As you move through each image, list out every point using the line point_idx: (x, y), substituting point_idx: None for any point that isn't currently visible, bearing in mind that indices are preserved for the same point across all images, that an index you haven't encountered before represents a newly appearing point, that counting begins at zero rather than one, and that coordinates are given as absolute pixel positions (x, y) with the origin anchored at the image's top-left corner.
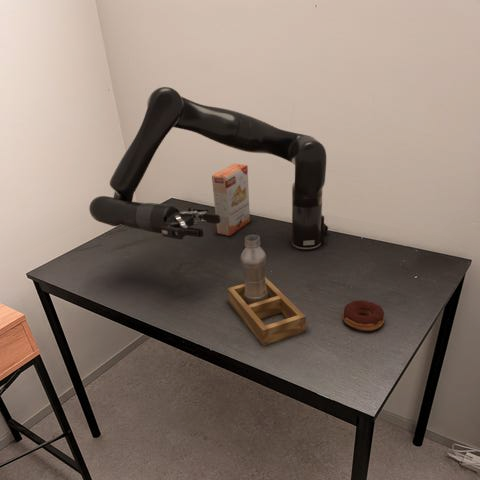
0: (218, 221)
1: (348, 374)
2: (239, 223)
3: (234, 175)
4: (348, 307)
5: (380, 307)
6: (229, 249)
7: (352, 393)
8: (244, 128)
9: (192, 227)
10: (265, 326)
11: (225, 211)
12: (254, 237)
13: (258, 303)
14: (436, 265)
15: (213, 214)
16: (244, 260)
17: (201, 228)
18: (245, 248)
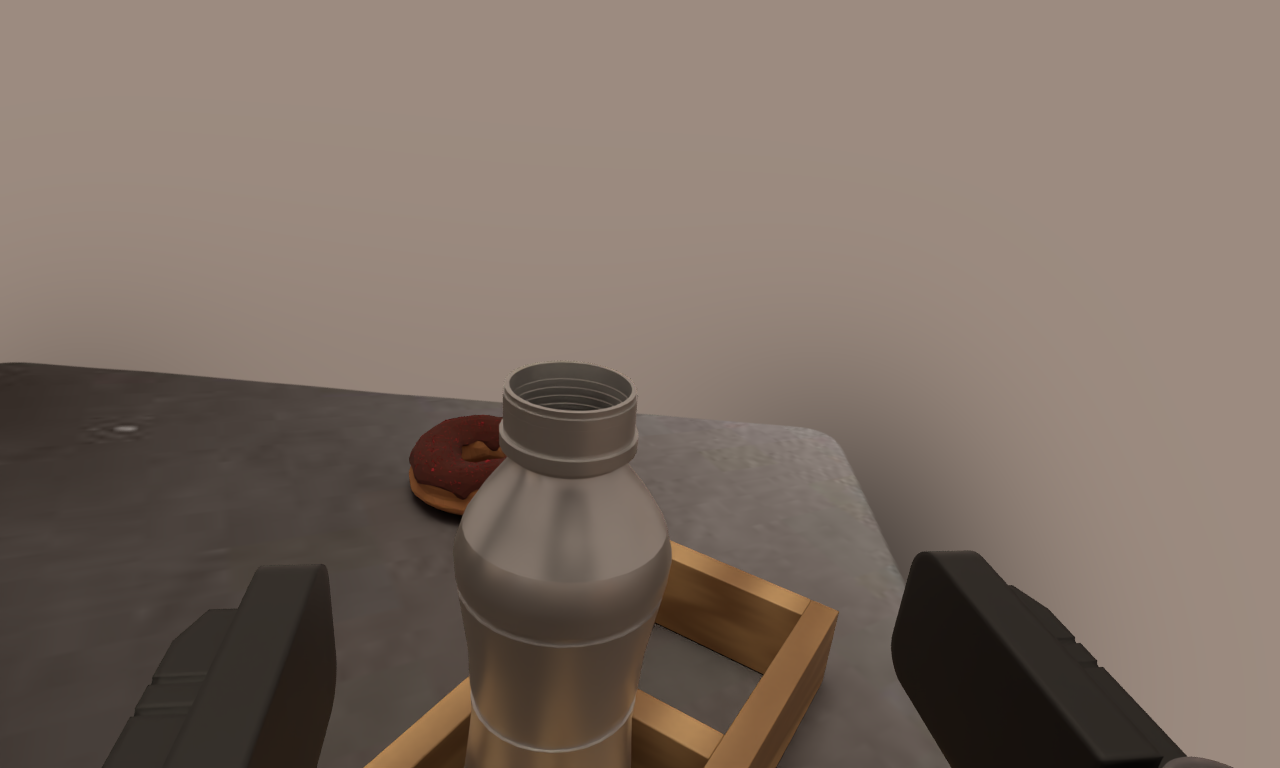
0: (331, 654)
1: (752, 472)
2: None
3: None
4: (495, 463)
5: (450, 419)
6: None
7: (807, 458)
8: None
9: (1071, 671)
10: (807, 612)
11: None
12: (507, 411)
13: (658, 712)
14: (28, 401)
15: (257, 639)
16: (668, 546)
17: (935, 553)
18: (605, 495)
